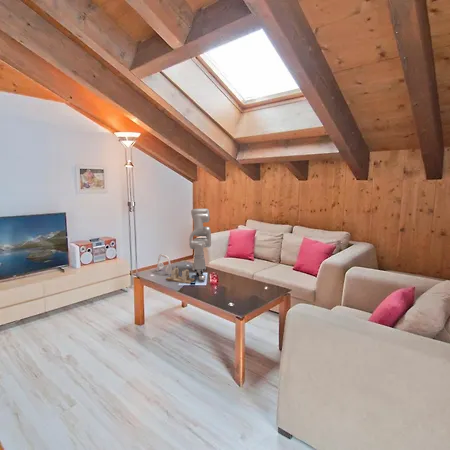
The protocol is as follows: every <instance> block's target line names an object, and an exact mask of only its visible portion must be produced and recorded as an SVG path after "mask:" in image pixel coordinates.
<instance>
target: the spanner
mask: <svg viewBox="0 0 450 450" xmlns="http://www.w3.org/2000/svg"><path fill="white" fill-rule="evenodd" d="M198 273H199V274H198V277H197V278H198V280H199V281H201V282H202V281H206V275H204V274H203V275H202V273H201V271H199V270H198ZM194 274H195V275H196V271H194Z"/></svg>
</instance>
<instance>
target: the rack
mask: <svg viewBox="0 0 450 450" xmlns="http://www.w3.org/2000/svg"><path fill="white" fill-rule="evenodd" d="M194 280H195V281H196V278H195V277H194V278H193V277H190V270H189V267H186V269H184V268H183V269H182V271H181V276H180V273H179V268H178V265H176V266H175V267H172V270H171V274H170V276H169V277H166V278H165V281H169V282H175V283H182V284H187V285H188V284H191V283H193V282H195V281H194Z"/></svg>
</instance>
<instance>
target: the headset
mask: <svg viewBox="0 0 450 450" xmlns="http://www.w3.org/2000/svg"><path fill="white" fill-rule="evenodd" d="M161 257H163V258H167V262H168V265H167V266H166V267H165V273H167V275H168V276H169V275H170V276H171V270H172V268H173V267H172V264H171V260H170V257H169V256H168V255H166V254H165V253H164V254H163V253H161V254H159V256H158V258H157V259H158V261H157V264H156V267H157V269H156V272H159V271H160V270H163V268H164V262H162V261H161Z"/></svg>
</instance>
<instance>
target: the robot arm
mask: <svg viewBox="0 0 450 450" xmlns="http://www.w3.org/2000/svg"><path fill="white" fill-rule="evenodd" d="M190 212H191V213H190V215H191V217H192V219H193V231H192V232H191V233H190V236H189V239H188V240H189V241H188V242H189V245H188V246H189V248H190V249H191V250H194V251H193V254H194V255H193V256H192V257H193V258H194V259H193V267H192V271H194V272H195V271H196V274H195V275H196V276H197V278H199V277H198V274H199V273H198V270H199V271H200V272H201V273H202V275H204V271H206V269H207V265H206V259H205V251H204V249H205V248H210V247H211V246H212V232H211V227H210V226H204V223H209V222H210V210H209V208H193V209H191V211H190ZM194 236H195V238H194Z"/></svg>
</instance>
